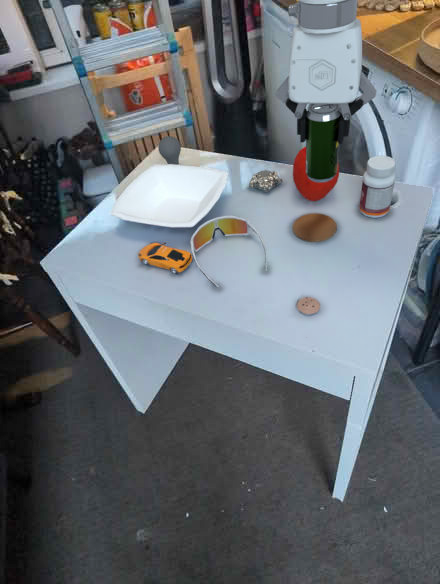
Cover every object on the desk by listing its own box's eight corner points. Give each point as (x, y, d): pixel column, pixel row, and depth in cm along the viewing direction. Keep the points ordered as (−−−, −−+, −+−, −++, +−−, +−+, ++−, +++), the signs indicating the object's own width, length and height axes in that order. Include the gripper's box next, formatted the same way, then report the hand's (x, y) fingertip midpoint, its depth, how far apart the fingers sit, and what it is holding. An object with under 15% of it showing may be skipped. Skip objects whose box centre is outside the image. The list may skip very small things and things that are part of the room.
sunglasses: (247, 224, 94) (246, 207, 90) (276, 274, 85) (277, 258, 81) (185, 244, 92) (181, 228, 88) (208, 298, 83) (205, 282, 79)
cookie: (299, 297, 77) (299, 293, 77) (322, 300, 76) (322, 297, 75) (294, 313, 75) (294, 309, 74) (318, 317, 74) (318, 313, 73)
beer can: (308, 185, 74) (309, 117, 66) (303, 169, 78) (303, 102, 69) (340, 181, 74) (345, 112, 65) (333, 164, 78) (337, 97, 69)
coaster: (339, 217, 92) (340, 215, 91) (332, 244, 86) (332, 243, 86) (297, 212, 94) (297, 211, 94) (288, 239, 89) (288, 237, 89)
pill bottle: (360, 200, 95) (366, 153, 86) (390, 202, 93) (399, 154, 84) (357, 217, 91) (362, 169, 83) (388, 220, 89) (397, 171, 81)
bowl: (202, 252, 90) (197, 230, 86) (108, 236, 98) (100, 215, 94) (239, 191, 103) (236, 169, 99) (154, 181, 111) (149, 161, 107)
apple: (346, 199, 95) (351, 148, 87) (309, 215, 93) (310, 164, 85) (320, 179, 102) (322, 130, 93) (284, 194, 100) (283, 145, 91)
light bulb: (161, 177, 112) (151, 141, 105) (172, 166, 115) (163, 130, 108) (179, 180, 110) (170, 144, 103) (190, 169, 113) (182, 133, 106)
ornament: (250, 198, 101) (249, 184, 98) (247, 182, 105) (246, 168, 103) (284, 193, 100) (284, 179, 97) (280, 177, 105) (280, 163, 102)
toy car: (150, 246, 93) (146, 233, 91) (197, 259, 88) (194, 246, 86) (134, 263, 90) (129, 251, 88) (182, 278, 85) (178, 265, 83)
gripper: (258, 24, 59) (266, 148, 72) (393, 18, 53) (375, 153, 66) (272, 7, 63) (277, 126, 76) (397, 0, 58) (379, 129, 71)
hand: (322, 138), depth 71 cm, fingers closed on beer can, 5 cm apart
